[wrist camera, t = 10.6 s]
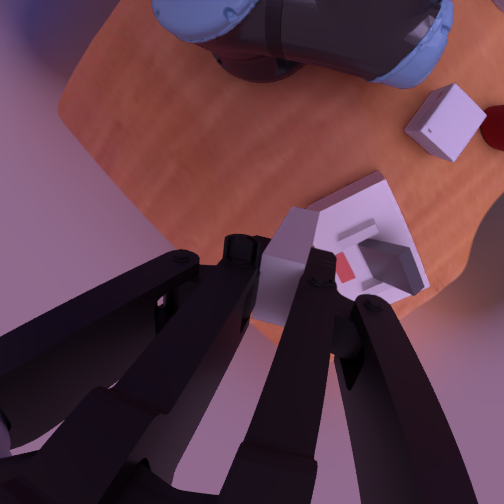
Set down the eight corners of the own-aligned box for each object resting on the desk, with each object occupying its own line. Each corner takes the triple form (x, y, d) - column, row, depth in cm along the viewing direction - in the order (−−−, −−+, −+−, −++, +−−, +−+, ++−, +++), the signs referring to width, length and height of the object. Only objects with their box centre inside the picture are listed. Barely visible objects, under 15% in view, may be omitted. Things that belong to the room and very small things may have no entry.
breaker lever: (370, 276, 39) (414, 295, 30) (354, 244, 38) (398, 255, 29) (379, 269, 39) (424, 287, 30) (364, 237, 38) (409, 247, 29)
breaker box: (353, 293, 50) (353, 330, 41) (307, 205, 47) (297, 227, 38) (419, 264, 45) (434, 297, 36) (378, 169, 42) (388, 182, 33)
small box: (430, 155, 39) (453, 164, 30) (401, 130, 39) (418, 131, 30) (459, 116, 35) (488, 115, 26) (431, 90, 35) (455, 81, 26)
